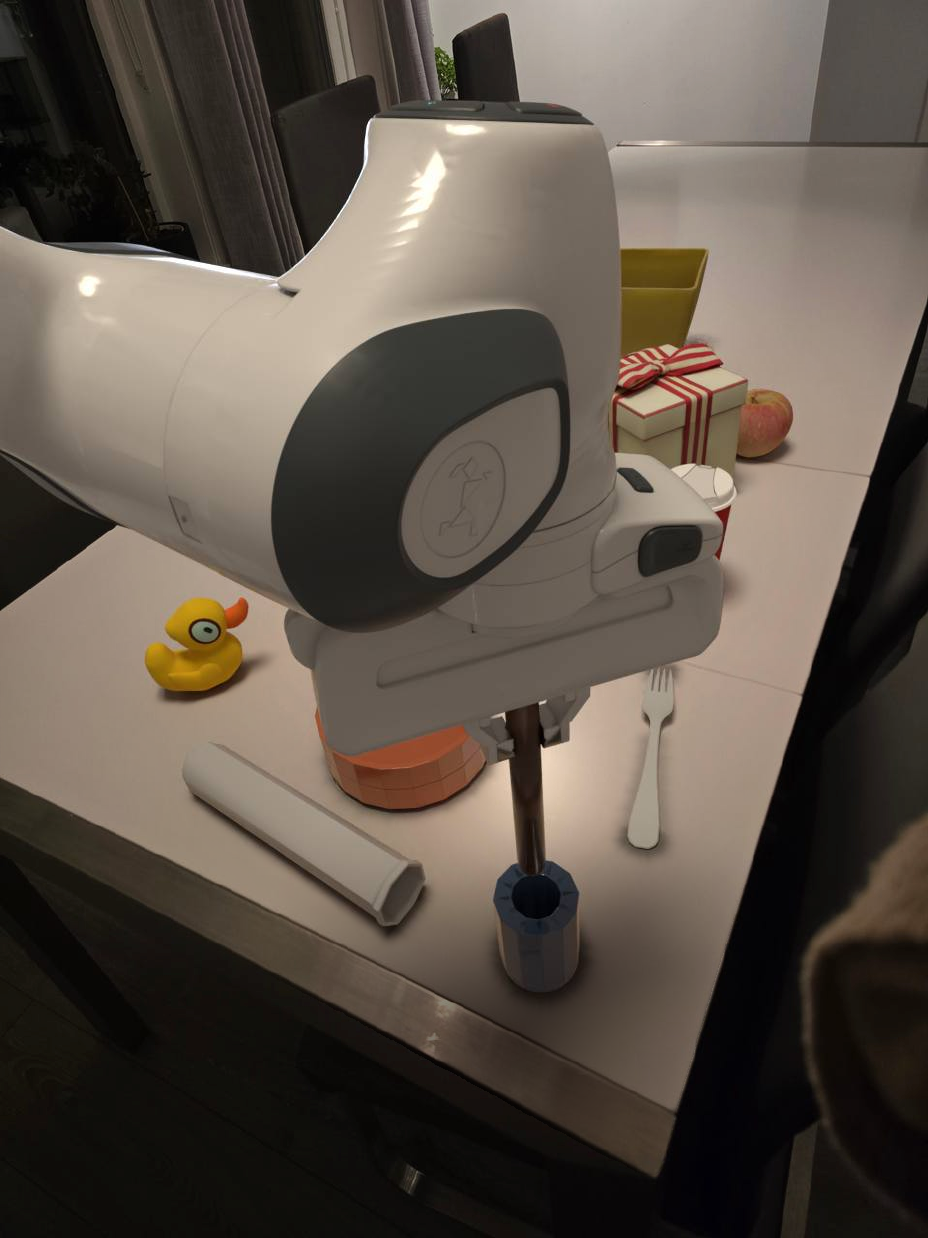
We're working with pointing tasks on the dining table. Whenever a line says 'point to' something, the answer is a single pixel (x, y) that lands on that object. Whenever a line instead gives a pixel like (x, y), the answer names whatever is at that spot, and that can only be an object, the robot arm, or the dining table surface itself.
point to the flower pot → (659, 295)
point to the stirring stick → (527, 788)
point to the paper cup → (711, 490)
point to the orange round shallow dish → (408, 769)
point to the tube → (306, 832)
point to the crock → (538, 926)
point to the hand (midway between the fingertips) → (524, 745)
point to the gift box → (677, 407)
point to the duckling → (198, 646)
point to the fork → (651, 764)
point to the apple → (763, 422)
